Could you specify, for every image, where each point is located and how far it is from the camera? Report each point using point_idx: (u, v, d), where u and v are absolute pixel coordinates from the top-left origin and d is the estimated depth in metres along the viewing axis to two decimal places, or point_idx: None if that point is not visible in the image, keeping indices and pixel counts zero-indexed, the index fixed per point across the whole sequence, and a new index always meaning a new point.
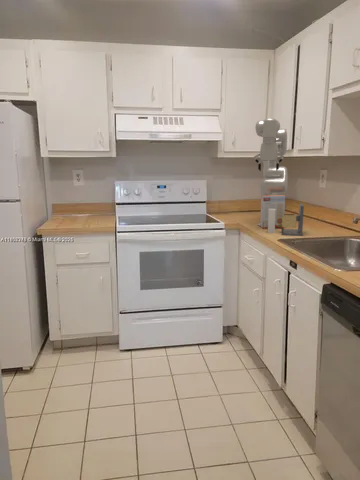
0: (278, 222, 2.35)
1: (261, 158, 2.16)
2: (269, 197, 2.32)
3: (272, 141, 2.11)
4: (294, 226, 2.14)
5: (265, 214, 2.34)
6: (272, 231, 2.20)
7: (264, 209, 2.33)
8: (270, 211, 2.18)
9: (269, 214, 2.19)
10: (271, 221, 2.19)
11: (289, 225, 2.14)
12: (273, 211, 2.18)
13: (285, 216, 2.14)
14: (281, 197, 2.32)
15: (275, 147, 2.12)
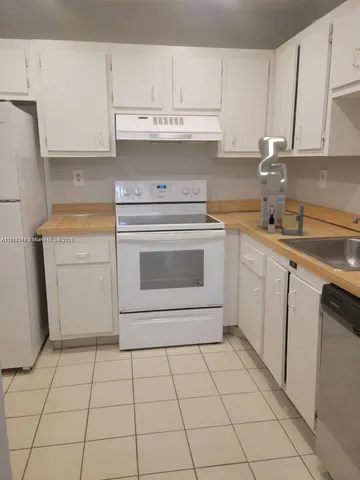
0: (278, 222, 2.35)
1: (275, 210, 2.15)
2: None
3: None
4: (294, 226, 2.14)
5: (265, 214, 2.34)
6: (272, 231, 2.20)
7: (264, 209, 2.33)
8: (270, 211, 2.18)
9: None
10: None
11: (289, 225, 2.14)
12: None
13: (285, 216, 2.14)
14: (281, 197, 2.32)
15: None
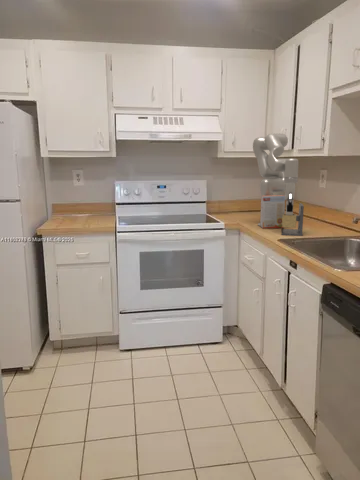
0: (278, 222, 2.35)
1: (293, 198, 2.10)
2: (269, 197, 2.32)
3: None
4: (294, 226, 2.14)
5: (265, 214, 2.34)
6: None
7: (264, 209, 2.33)
8: None
9: None
10: (289, 213, 2.15)
11: (289, 225, 2.14)
12: None
13: (285, 216, 2.14)
14: (281, 197, 2.32)
15: None
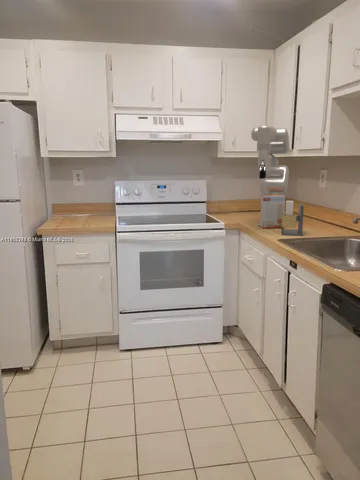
0: (278, 222, 2.35)
1: (266, 165, 2.11)
2: (269, 197, 2.32)
3: None
4: (294, 226, 2.14)
5: (265, 214, 2.34)
6: None
7: (264, 209, 2.33)
8: (288, 203, 2.14)
9: (287, 206, 2.14)
10: (289, 213, 2.15)
11: (289, 225, 2.14)
12: (291, 203, 2.13)
13: (285, 216, 2.14)
14: (281, 197, 2.32)
15: None
